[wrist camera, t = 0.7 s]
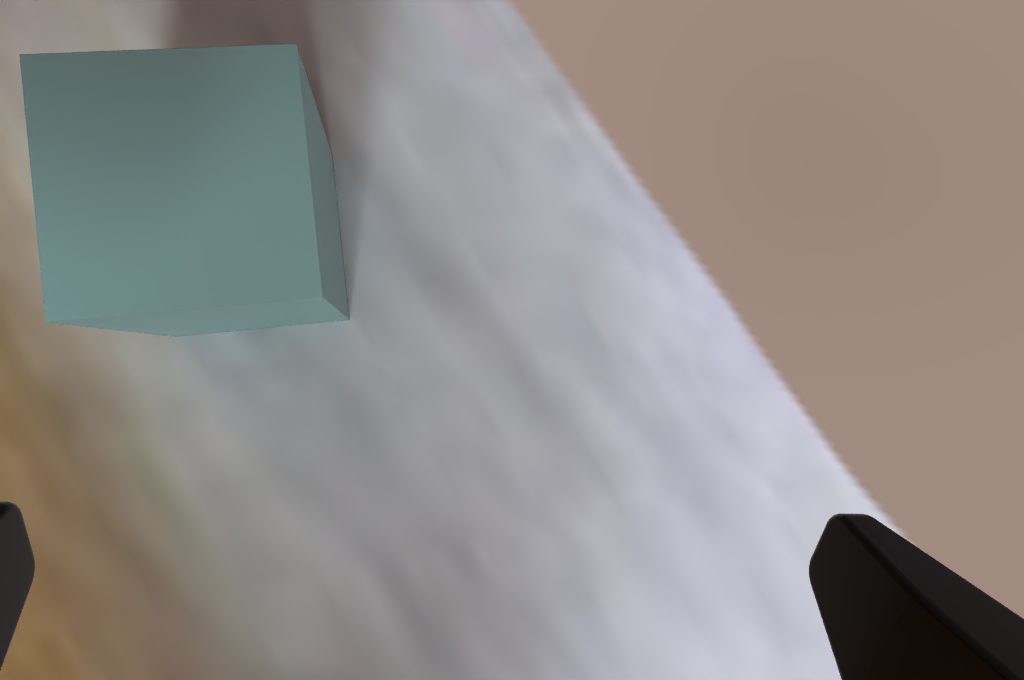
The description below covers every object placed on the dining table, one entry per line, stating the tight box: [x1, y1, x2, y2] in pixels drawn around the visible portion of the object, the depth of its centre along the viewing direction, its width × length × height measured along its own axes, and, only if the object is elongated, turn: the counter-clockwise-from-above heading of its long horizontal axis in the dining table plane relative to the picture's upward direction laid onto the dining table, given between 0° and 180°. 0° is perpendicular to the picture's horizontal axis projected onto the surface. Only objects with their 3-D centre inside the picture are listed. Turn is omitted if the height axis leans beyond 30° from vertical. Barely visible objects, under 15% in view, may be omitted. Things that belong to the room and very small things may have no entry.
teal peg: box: [20, 44, 349, 337], centre depth 18 cm, size 5×5×8 cm
